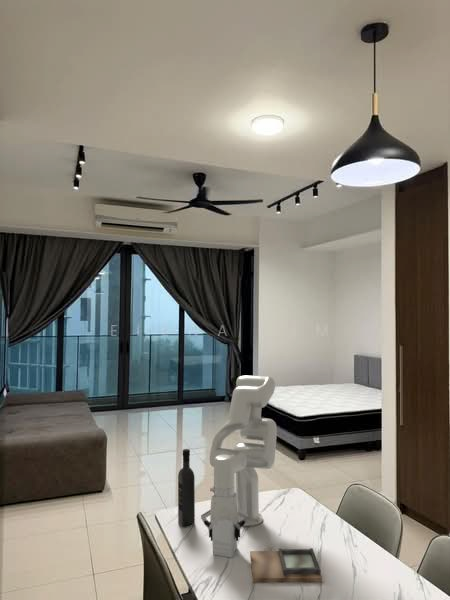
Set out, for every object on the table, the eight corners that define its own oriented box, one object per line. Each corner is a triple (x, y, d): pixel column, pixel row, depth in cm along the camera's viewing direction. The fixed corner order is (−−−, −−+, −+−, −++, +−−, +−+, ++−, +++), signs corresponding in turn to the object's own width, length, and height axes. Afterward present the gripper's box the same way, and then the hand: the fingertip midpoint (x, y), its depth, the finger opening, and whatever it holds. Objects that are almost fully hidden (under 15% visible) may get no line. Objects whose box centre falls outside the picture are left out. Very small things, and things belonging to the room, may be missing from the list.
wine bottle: (183, 528, 171) (182, 453, 172) (177, 522, 176) (177, 449, 177) (195, 524, 174) (195, 450, 175) (189, 519, 178) (189, 447, 180)
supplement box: (237, 547, 156) (237, 512, 157) (231, 558, 149) (231, 521, 150) (218, 544, 158) (218, 509, 159) (211, 554, 151) (211, 518, 152)
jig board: (253, 583, 135) (252, 573, 135) (250, 555, 151) (250, 546, 151) (322, 582, 135) (321, 572, 135) (311, 554, 151) (311, 546, 151)
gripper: (199, 494, 151) (200, 544, 150) (248, 494, 151) (249, 544, 150) (201, 486, 158) (201, 534, 157) (247, 486, 158) (247, 533, 157)
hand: (224, 539), depth 154 cm, fingers closed on supplement box, 8 cm apart
